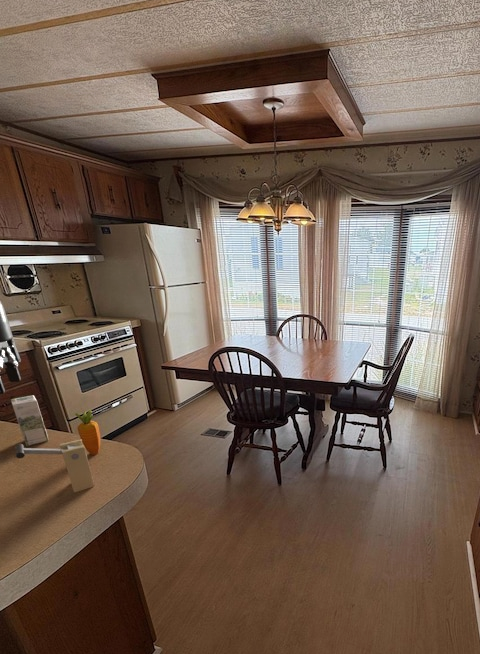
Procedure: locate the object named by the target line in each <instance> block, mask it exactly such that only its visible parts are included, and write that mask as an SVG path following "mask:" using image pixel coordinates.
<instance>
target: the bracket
mask: <svg viewBox="0 0 480 654" xmlns="http://www.w3.org/2000/svg"><path fill="white" fill-rule="evenodd" d="M59 446H60V449H67V446H79V447H75V448H71V449H67V450H63V451H62V454H61V455H62V456H63V461H64V464H65V468H66V470H67V474H68V477H69V480H70V484H71V487H72V490H73V493H78V492H81V491H84V490H87V489H90V488H93V487H95V482H94V478H93V473H92V470H91V467H90V462H89V460H88V459H89V458H88V456H87V452H86V448H85V446H84V445H83V443H82V440H81V438H79V439H76V440H72V441H67V442H63V443H59Z"/></svg>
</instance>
